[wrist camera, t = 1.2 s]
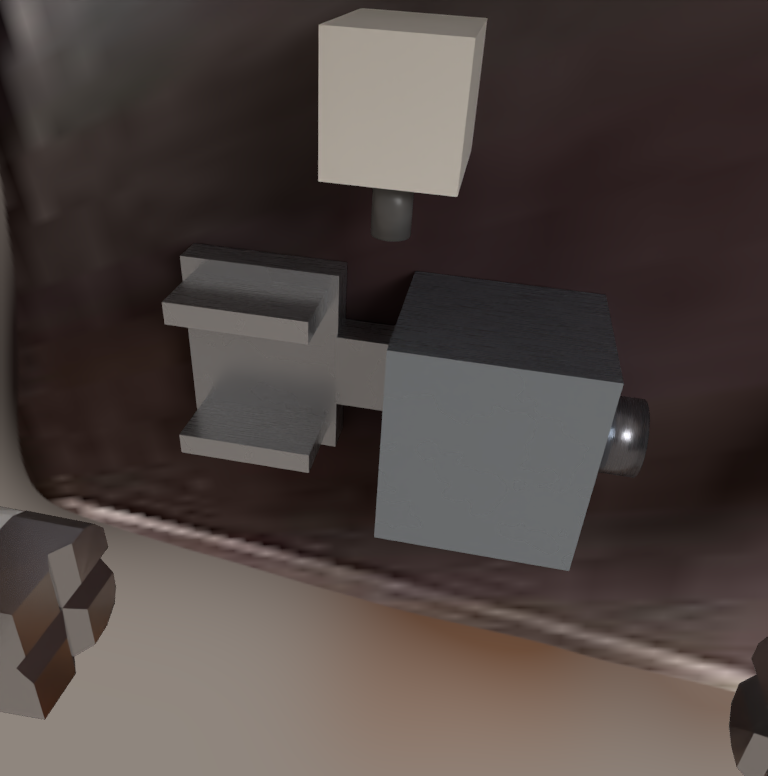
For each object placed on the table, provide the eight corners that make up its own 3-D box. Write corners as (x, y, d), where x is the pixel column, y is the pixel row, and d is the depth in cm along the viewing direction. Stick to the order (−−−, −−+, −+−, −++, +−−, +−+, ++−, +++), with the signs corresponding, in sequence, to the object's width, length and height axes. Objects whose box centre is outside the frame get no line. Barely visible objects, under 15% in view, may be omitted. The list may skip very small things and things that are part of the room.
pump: (355, 188, 28) (317, 240, 23) (361, 8, 25) (318, 24, 20) (465, 200, 28) (450, 256, 23) (487, 18, 24) (475, 37, 19)
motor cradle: (210, 408, 36) (148, 497, 30) (193, 243, 31) (115, 312, 25) (605, 469, 34) (619, 579, 28) (655, 301, 29) (686, 392, 23)
